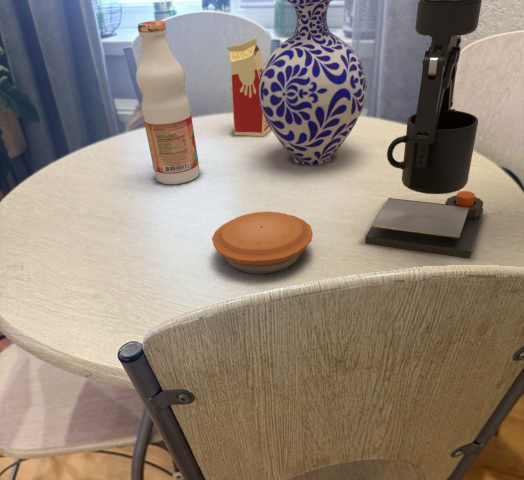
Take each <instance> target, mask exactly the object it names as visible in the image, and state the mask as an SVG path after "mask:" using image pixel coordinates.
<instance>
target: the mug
mask: <svg viewBox="0 0 524 480" xmlns="http://www.w3.org/2000/svg"><path fill="white" fill-rule="evenodd" d="M415 119H416V113H414V114H411V115H410V116H409V117H408V118H407V123H406V132H405V135H402V136H398V137H396V138H395V139H393V140H392V141H391V142H390V144H389V145H388V146H387V147H388V148H387V151H386V157H387V161H388V163H389V165H390V166H392V167H393V168H395V169H400V170H402V173H401V182H402V185H403V186H404V187H406V188H407V189H408V190H411V191H414V192H417V193H421V194H427V195H446V194H451V193H456V192H460V190H461V191H462V189H464V188H465V187H466V185H467V184H468V182H469V181H468V180H469V176H470V170H471V165H472V159H473V154H474V147H475V144H476V143H475V141H476V136H477V132H478V126H479V118H478V117H477V116H475V114H472V113H469V112H466V111H461V110H456V109H455V110H440V115H439V120H438V125H437V130H436V135H435V137H436V139H435V141H436V146H435V153H434V160H433V167H432V175H431V182H430V188H429V190H427V189H418V188H410V179H411V170H412V161H413V152H414V144H415V143H413V142H409V137H412V135H413V132H414V125H415ZM421 133H427V132H421ZM399 144H404V153H403V161H398V160H396V159H395V158H394V155H393V154H394V153H393V152H394V150H395V148H396V147H397V146H398V145H399Z"/></svg>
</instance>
